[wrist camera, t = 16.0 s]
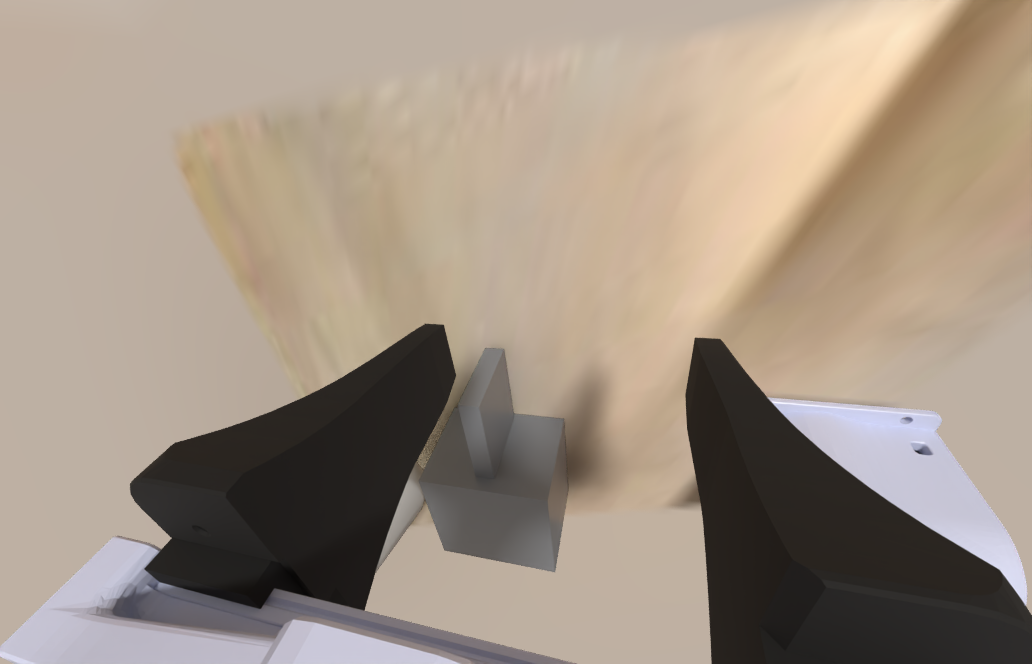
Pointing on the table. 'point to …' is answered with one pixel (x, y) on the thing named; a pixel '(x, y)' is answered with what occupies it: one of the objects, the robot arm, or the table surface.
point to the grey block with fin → (498, 475)
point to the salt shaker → (404, 512)
